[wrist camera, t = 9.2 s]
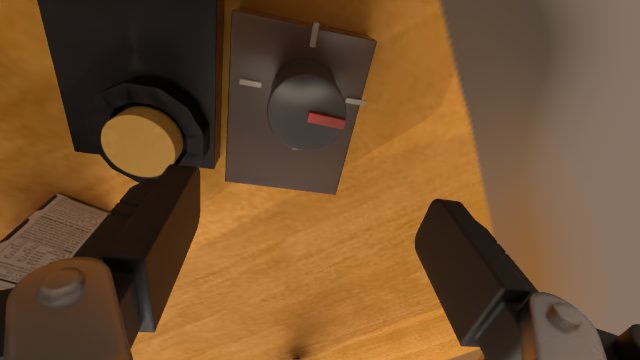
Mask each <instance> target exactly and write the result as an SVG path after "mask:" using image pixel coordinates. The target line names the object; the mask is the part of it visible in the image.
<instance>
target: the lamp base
mask: <svg viewBox="0 0 640 360" xmlns="http://www.w3.org/2000/svg"><path fill="white" fill-rule="evenodd" d="M37 1H38V5H39V9H40V13H41V17H42V21H43V25H44V29H45V33H46V37H47V41H48V45H49V49H50V53H51V57H52V61H53V65H54V69H55V73H56V77H57V81H58V85H59V89H60V93H61V97H62V101H63V105H64V110H65V114H66V118H67V122H68V126H69V130H70V134H71V138H72V142H73V146H74V150H75V151H76V152H83V153H91V154H99V155H101V156H102V158H103V159H104V160H105V161H106V162H107V164H108V165H109V166H110V167H111V168H112V169H114V170H116V171H118V172H120V173H122V174H123V175H125V176H127V177H129V178H131V179H133V180H135V181H137V182H142V181H144V180H146V179H155V180H158V179H159V178H160V176H161V175H162V174H161V175H159V176H155V177H140V176H136V175H132V174H130V173H127V172H125V171H123V170H122V169H120V168H119V167H117V166H116V165H115V164H114V163H113V162H112V161H111V160H110V159H109V158H108V157H107V155H106V153H105V152H104V150H103V147H102V144H101V133H102V129H103V127H104V126H105V124H106V123H107V122H108V121H109V120H111V119H112V118H114V117H115V116H116V115H118V114H119V113H121V112H122V111H124V110H125V109H127V108H130V107H134V106H147V107H151V108H154V109H157V110H159V111H161V112H163V113H165V114H166V115H168V116H169V117H170V118H171V119H172V120H173V121H174V122H175V123H176V124H177V126H178V127H179V129H180V131H181V134H182V137H183V149H182V152H181V154H180V155H179V157H178V158H177V160H176V161H175V163H174V164H176V165H184V166H192V167H201V168H209V169H214V168H215V166H216V164H217V162H218V159H219V157H220V132H221V95H222V58H223V22H224V0H37Z"/></svg>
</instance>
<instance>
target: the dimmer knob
mask: <svg viewBox="0 0 640 360" xmlns="http://www.w3.org/2000/svg"><path fill="white" fill-rule="evenodd" d="M267 119H268V123H269V126H270V128H271V130H272V132H273V134H274V135H275V136H276V137H277V138H278V139H279V140H280V141H281V142H282V143H284V144H285V145H287V146H289V147H291V148H294V149H297V150H303V151H309V150H316V149H319V148H322V147H324V146H326V145H328V144H329V143H331V142H332V141H333V140H334V139H335V138H336V137H337V136H338V135H339V134H340V132H341V130H343V129H344V126H345V123H346V104H345V100H344V98H343V95H342V93H341V91H340V89H339V87H338V85H337V83H336V81H335V79H334V77H333V75H332V73H331V72H330V70H329V69H328V68H327V67H326V66H325V65H323V64H322V63H320V62H318V61H316V60H313V59H308V58H301V59H295V60H292V61H290V62H288V63H286V64H285V65H284V66H283V67H282V68H281V69H280V70H279V71H278V72H277V74H276V76H275V78H274V80H273V84H272V88H271V92H270V96H269V101H268V105H267Z"/></svg>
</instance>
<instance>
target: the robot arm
mask: <svg viewBox="0 0 640 360" xmlns="http://www.w3.org/2000/svg"><path fill="white" fill-rule="evenodd" d="M199 218H200V170H199V168H198V167H192V166H184V165H176V164H170V165H169V166H168V167H167V168H166V169H165V171H164V172H163V174H162V175H161V176H160V178H159V179H158V180H155V179H146V180H144V181H142V182H140V183H139V184H137V185H135V186H133V187H131V188H130V189H129V190H128V191H127V193H126V194H125V195H124V196H123V197H122V199H121V200H120V203H117V204H116V206H115V207H114V208H113V209H112V210H111V214H108V215H107V216H106V217H105V219H104V220H103V221H102V222H101V223H100V225H99V226H98V227H97V228H96V229H95V230H94V232H93V233H92V234H91V235H90V236H89V238H88V239H87V240H86V241H85V242H84V243H83V245H82V246H81V247H80V248H79V249H78V251H77V252H76V253H75V254H74V255H73V256H72V258H66V259H62V260H58V261H55V262H52V263H49V264H47V265H44V266H42V267H40V268H38V269H36V270H34V271H33V272H31V273H30V274H28V275H27V276H26V277H24V278H23V279H22V280H21V281H20V282H19V283H18V284H17V285H16V286H15V287H14V288H9V289H4V290H0V360H133V358H132V354H131V350H130V349H131V347H132V345H133V342H134V340H135V338H136V336H137V334H138V332H155V330H156V328H157V325H158V323H159V320H160V318H161V316H162V313H163V311H164V308H165V306H166V303H167V301H168V299H169V296H170V294H171V291H172V289H173V286H174V284H175V282H176V279H177V277H178V274H179V272H180V269H181V267H182V265H183V262H184V260H185V257H186V255H187V252H188V250H189V248H190V245H191V243H192V240H193V238H194V236H195V233H196V231H197V228H198V224H199ZM415 249H416V252H417V255H418V257H419V259H420V261H421V263H422V265H423V267H424V269H425V271H426V274H427V276H428V278H429V280H430V282H431V284H432V286H433V288H434V290H435V292H436V295H437V297H438V299H439V301H440V303H441V305H442V307H443V309H444V311H445V313H446V315H447V318H448V320H449V322H450V324H451V326H452V328H453V330H454V332H455V334H456V336H457V339H458V341H459V343H460V345H461V346H469V347H480V348H481V350H482V352H483V353H482V354H481V356H480V357H479V358H478V360H640V324H635V325H632V326H631V327H630V328H628V329H627V330H626V331H625V332H624V333H622V334H621V335H620V336H617V335H614V334H611V333H608V332H605V331H602V330H599V329H596V328H595V327H594V325H593V324H592V323H591V321H590V320H589V319H588V318H587V317H586V316H585V315H584V314H583V313H582V312H581V311H579V310H578V309H577V308H576V307H574V306H573V305H572V304H570V303H568V302H567V301H565V300H563V299H561V298H559V297H557V296H555V295H552V294H549V293H545V292H538V290H537V289H536V288H535V287H534V286H533V285H532V283H531V282H530V281H529V280H528V278H527V277H526V276H525V275H524V273H523V272H522V271H521V270H520V269H519V267H518V266H517V265H516V264H515V263H514V261H513V260H512V259H511V258H510V257H509V256H508V255H507V254H505V250H504V249H503V248H502V247H501V246H500V244H497V241H496V240H495V238H494V237H493V236H492V235H491V234H490V232H489V231H488V230H487V229H486V228H485V227H483V226H482V225H481V224H480V223H478V222H477V221H476V220H475V219H474V218H473V217H472V215H471V214H470V213H469V212H468V211H467V209H466V208H465V207H464V206H463V204H462V203H460V202H458V201H451V200H443V199H435V200H433V201H432V203H431V204H430V206H429V208H428V211H427V213H426V215H425V217H424V219H423V221H422V223H421V225H420V227H419V229H418V232H417V234H416V237H415Z"/></svg>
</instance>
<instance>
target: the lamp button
mask: <svg viewBox="0 0 640 360" xmlns="http://www.w3.org/2000/svg"><path fill="white" fill-rule="evenodd" d="M101 144H102V147H103V150H104V152H105V153H106V155H107V157H108V158H109V159H110V160H111V161H112V162H113V163H114V164H115V165H116V166H117V167H119V168H120V169H122V170H123V171H125V172H127V173H130V174H132V175H136V176H140V177H155V176H159V175H161V174H163V172H164V171H165V169H166V168H167V167H168V166H169V165H170V164H174V163H175V161H176V160H177V158H178V157H179V155H180V154H181V152H182V149H183V137H182V134H181V131H180V129H179V127H178V126H177V124H176V123H175V122H174V121H173V120H172V119H171V118H170V117H169V116H168V115H166V114H165V113H163V112H161V111H159V110H157V109H154V108H151V107H147V106H134V107H130V108H127V109H125V110H124V111H122V112H121V113H119V114H118V115H116V116H115V117H114V118H112V119H111V120H109V121H108V122H107V123H106V124H105V126H104V127H103V129H102V133H101Z"/></svg>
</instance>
